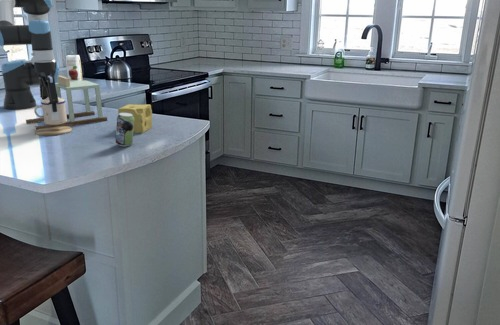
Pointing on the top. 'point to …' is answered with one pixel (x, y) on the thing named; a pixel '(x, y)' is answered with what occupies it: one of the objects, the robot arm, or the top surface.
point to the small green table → (77, 85)
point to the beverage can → (124, 129)
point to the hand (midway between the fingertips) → (51, 117)
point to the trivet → (53, 131)
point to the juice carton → (74, 68)
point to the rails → (69, 122)
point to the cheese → (139, 116)
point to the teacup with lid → (47, 112)
